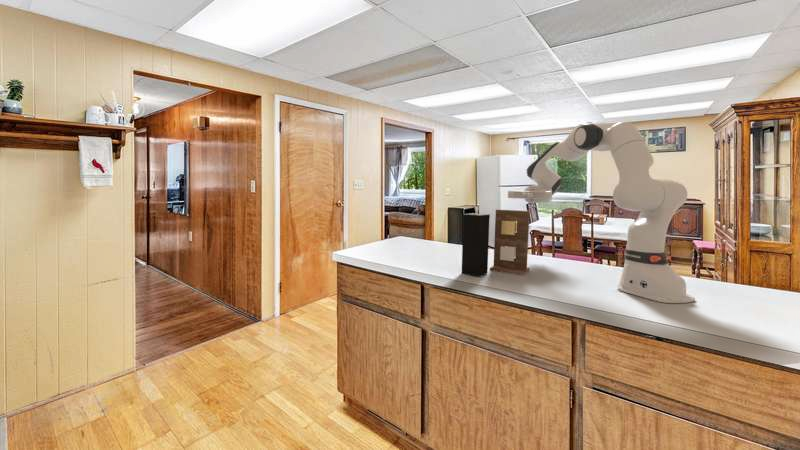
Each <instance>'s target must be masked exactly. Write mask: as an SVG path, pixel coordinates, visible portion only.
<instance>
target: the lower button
mask: <svg viewBox="0 0 800 450" xmlns="http://www.w3.org/2000/svg"><path fill="white" fill-rule="evenodd" d="M514 258H516V247H507V246H506V247H503V246H501V248H500V260H507V261H514Z"/></svg>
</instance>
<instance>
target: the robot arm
mask: <svg viewBox="0 0 800 450" xmlns="http://www.w3.org/2000/svg"><path fill="white" fill-rule="evenodd" d="M590 151H598V152H609V151H610V153H611V156H612V159H613V161H614V164H615V166H616V169H617V171H618V175H619V179H618V180H619V181H618V183H617V184H616V185H615V187H614V189H613V191H612V200H613V202H614V204H615V206H616V207H618V208H620V209H622V210H626V211H630V212H639V215H638V218H636V220H635V221H634V222H632V223H631V224H630V225H629V227H628V228H627V237H626V238H627V239H626V248H625V249H624V257H623V258H624V264H623V268H622V273H621V277H620V280H619V282H618V285H617V286H618V287H617V290H618V291H620V292H622V293H628V294H631V295H633V296H634V295H635V296H638V297H641V298H645V299H648V300H652V301H655V302H659V303H666V304H684V303H685V304H686V303H691V302H692V303H693V302H694V301H695V300H696V298H695V296H693V295H691V294H688V293H687V283H686V281H685V279H684V278H683V277H682V276H681V275H680V274H679V273H678V272H676V270H674V268H672V266H671V265H670V264H669V261H671V260H672V255H667V252H666V251H665V248H666V238H667V233H668V232H667V231H668V228H669V225H670V222H671V221H672V219H673V217H674V216H675V215H674V214H675V213H676V211H678V209H680V208H681V207H682V206H683V205H684V204H685V203H686V202H687V200H688V199H687V198H688V191H687V188H686V186H685V185H684V184H683V183H680V182H678V181H675V180H671V179H655V178H652V177H651V176H650V169H651V167H652V166H653V165H654V162H655V161H654V157H653V155H652V153H651V151H650V148H649V147H648V145H647V143H646V140H645V139H644V137H643V135H642V134H641V133H640V131H639V129H638V128H637V127H636V126H635V125H634V124H633V123H632V122H630V121H621V122H618V123H613V122H612V123H611V122H593V121H589V120H588V121H586V120H585V121H582V122H580V123H578V125H577V126H576V127H575V128H574V129H573V130H571V132H570V133H569V134H568V136H567V137H566V138H565V139H564V140H563V141H562V140H558V141H556V142H554V143H553V144H552V145H550V146H549V147H548V148H546V150H545V151H544V152H543V153H542V154H541V155H539V157H537V159H535V160H534V161H532V163H530V164H529V165H528V167H527V168H526V175H527V177H528V178H529V179H531V180H532V181H534V182H535V183H536V184H537V185H529V186H527V187H526V188H524V190H508V192H507V198H509V199H524V201H525V202H527V203H528V204H538V203H543V202H544V203H545V202H547V203H548V202H552V199H553V195H555V194H556V193H557V192H558V191H559V190H560V189H561V187H562V186H563V185H562V184H563V178H562V177H561V176H560V175H559V174H558V173H557V172H555V171H554V170H553V169H551V167H549V166H548V165H547V162H548V161H549V160H550V159H551V158H552V157H555V158H558V159H561V160H562V161H563V160H564V161H565V162H577V161H580V160H582V159H583V158H584V157H585V156H586V155H587V154H588V153H589V152H590Z"/></svg>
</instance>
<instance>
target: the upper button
mask: <svg viewBox="0 0 800 450" xmlns="http://www.w3.org/2000/svg"><path fill="white" fill-rule="evenodd" d="M515 232H516V233H517V222H516V221H502V223H501V234H508V235H515Z"/></svg>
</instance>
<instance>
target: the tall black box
mask: <svg viewBox="0 0 800 450" xmlns="http://www.w3.org/2000/svg"><path fill="white" fill-rule="evenodd" d="M479 210H480V206H474V212H475V213H474V212H472V213H463V214H462V219H463V220H462V243H461V244H462V248H461V252H462V253H461V274H463V275H467V276H468V275H469V276H472V277H473V276H474V277H480V276H483V275H486V274H488V267H489V266H488V265H489V245H490V244H489V239H490V217H491V216H490V215H491V214H489V213H479Z"/></svg>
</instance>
